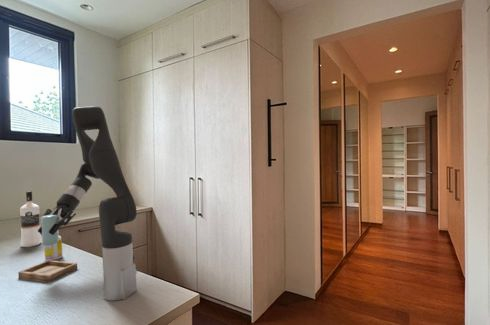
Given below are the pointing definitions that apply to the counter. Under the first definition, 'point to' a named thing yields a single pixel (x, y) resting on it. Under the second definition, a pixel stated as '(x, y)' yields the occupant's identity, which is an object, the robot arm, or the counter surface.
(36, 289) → the counter surface
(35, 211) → the vodka
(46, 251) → the supplement bottle
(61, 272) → the tray
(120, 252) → the robot arm
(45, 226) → the pale green capsule
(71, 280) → the counter surface
